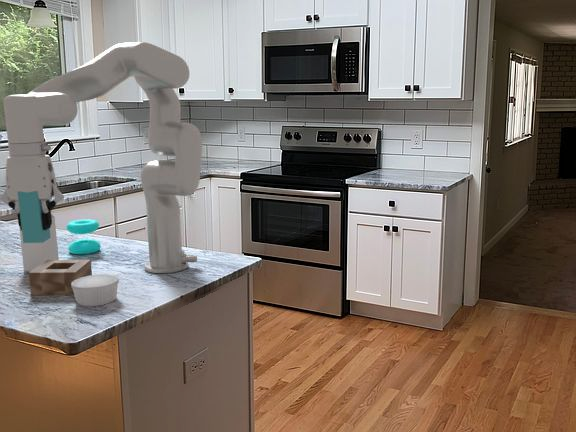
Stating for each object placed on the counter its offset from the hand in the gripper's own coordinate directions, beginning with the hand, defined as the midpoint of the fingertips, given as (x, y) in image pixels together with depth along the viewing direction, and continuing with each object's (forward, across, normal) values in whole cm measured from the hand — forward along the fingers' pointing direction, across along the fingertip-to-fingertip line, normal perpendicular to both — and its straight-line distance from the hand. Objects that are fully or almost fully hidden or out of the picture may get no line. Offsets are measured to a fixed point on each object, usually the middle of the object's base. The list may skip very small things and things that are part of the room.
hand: (35, 228), depth 143 cm
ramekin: (+21, -10, -7) cm, 24 cm away
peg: (+3, 0, 0) cm, 3 cm away
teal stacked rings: (+21, +9, -56) cm, 60 cm away
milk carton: (+21, +15, -36) cm, 44 cm away
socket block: (+20, +2, -18) cm, 27 cm away
